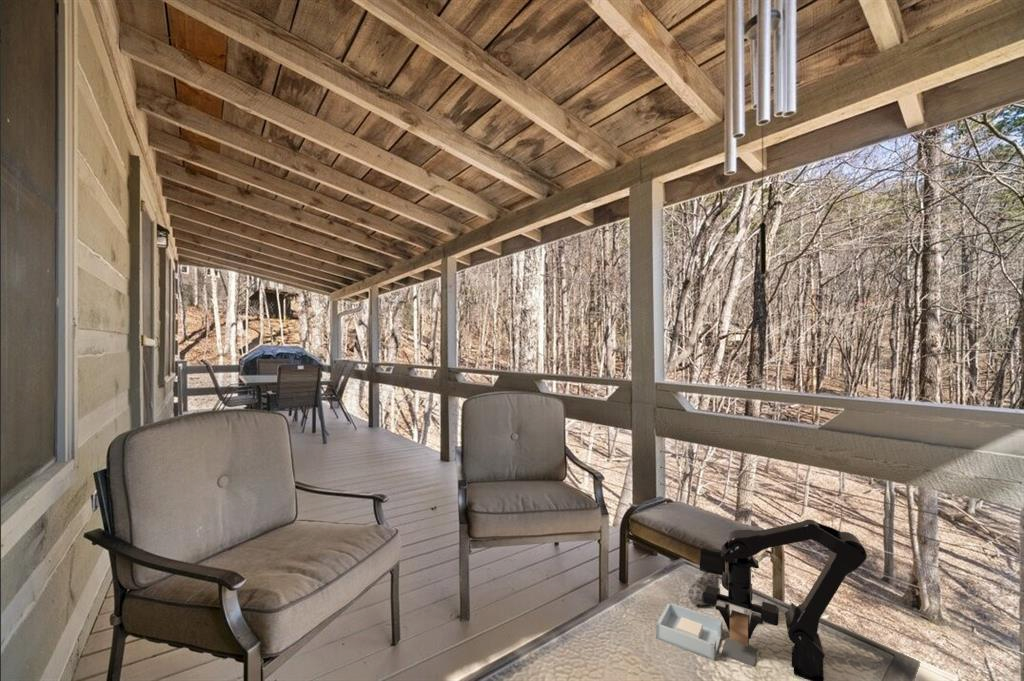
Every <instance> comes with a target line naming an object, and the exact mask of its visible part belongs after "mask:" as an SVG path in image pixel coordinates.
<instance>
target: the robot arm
mask: <svg viewBox="0 0 1024 681" xmlns="http://www.w3.org/2000/svg"><path fill="white" fill-rule="evenodd" d="M727 538H728V539H727V541H726V542H724V544H722V546H721V549H716V548H712V547H709V546H705V545H701V546H700V558H699V571H700V572H708V573H712V574H717V575H719V576H722V575H723V574H724V573H726V571H727V573H728V574H726V582H725V585H726V586H728V596H726V595H722V594H720V589H719V588H720V587H719V588H715V587H712V586H709V585H707V586H706V587H705V588H704V591H703V594H702V602H703V603H706V605H708V606H712V607H714V608H715V611H718V612H719V614H720V616H721V617H722V619H723V621H724V624H725V626H726V629H727V630H728V632H729V633H730V605H733V606H736V607H739V608H743V609H746V610H749V611H752V614H751V619H750V626H749V633H748V637H749V640H751V639H752V636H753V634H754V631H755V630H756V628H757V626H758V625H759V624H760V625H764V623H766V624H769V625H772V626H775V627H777V626H779V620H780V608H779V606H777V605H776V604H772V603H769V602H765V601H762V603H761V604H758V603H753V600H754V599H753V598H754V597H753V592H754V591H753V583H752V568H753V569H760V568H759V566H760V565H759V561H758V560H757V559H756V558H755V557H754V556H755V555H758V554H759V553H761V552H762V551H763V550H766V549H769V548H775V547H780V546H784V545H785V546H786V545H791V544H794V543H800V542H806V541H814V542H816V543H819V545H821V546H823V547H824V548H826V549H827V550H829V553H828V558H827V559H828V560H827V562H826V563H825V565H824V567H823V568H822V570H821V572H820V573H819V576H818V577H817V578H816V580H815V582H814V584H813V585H812V586H811V589H810V590H809V592H808V593H807V595H806V596H805V599H804V600H803V602H802V603H801V604H799V605H796V604H795V603H793V602H791V603H790V605H789V608H788V610H787V611H785V612H784V617H785V625H786V630H787V636H788V638H789V640H790V641H791V643H792V644H794V646H793V645H792V646H791V667H792V668H793V675H795V676H798V677H800V678H802V679H806V680H809V681H825V672H824V671H825V670H824V659H825V656H826V655H825V654H826V653H825V652H824V651H825V650H824V648H823V645H822V641H821V638H820V634H819V633H818V630H819V623H820V620H821V617H822V615H823V614H824V612H825V611H826V609H827V608H828V606H829V604H830V603H831V601H832V599H833V598H834V596H835V594H836V593H837V591H838V590H839V588H840V586H841V585H842V584H843V583H842V582H844V580H845V578H846V576H847V575H849V574H851V573H853V572H855V571H856V570H857V569H859V568H860V567H861V566H862V564H864V563H865V562H866V560H867V556H868V554H867V551H866V548H865V547H864V545H863V544H862V542H861V541H860V540H859V538H858V537H857V536H856V535H854V534H853V533H850V532H849V531H841V530H838V529H836V528H834V527H831V526H830V525H825V524H822V523H819V522H818V521H815V520H814V519H805V520H803V521H797V522H794V523H789V524H784V525H779V526H774V527H770V528H765V529H760V530H754V529H734V530H731V531H730V533H729V534H728V537H727ZM726 563H727V564H726ZM726 565H728V566H727V569H728V570H726ZM751 601H752V603H751Z"/></svg>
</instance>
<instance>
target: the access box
mask: <svg viewBox="0 0 1024 681" xmlns="http://www.w3.org/2000/svg"><path fill="white" fill-rule="evenodd" d="M655 626H656V627H655V632H656V633H655V634H656V635H655V636H656V637H655V638H656V639H657V640H660V641H662V642H665V643H667V644H670V645H673V646H675V647H678V648H680V649H683V650H685V651H687V652H691V653H692V654H696V655H698V656H701V657H703V658H706V659H709V660H711V661H715V660H716V656H717V654H718V651H719V647H720V643H721V639H722V636H723V620H722V619H720V618H717V617H714V616H711V615H708V614H705V613H703V612H699V611H697V610H694V609H691V608H687V607H684V606H682V605H679V604H675V603H673V602H668V603H667V605H666V606H665V608H664V610H663V612H662V614H661V616H660V617H659V619H658V621H657V623H656V624H655Z"/></svg>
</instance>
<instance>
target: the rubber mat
mask: <svg viewBox="0 0 1024 681" xmlns="http://www.w3.org/2000/svg"><path fill="white" fill-rule="evenodd" d="M757 653H758V647H754V646H752V645H750V644H748V646H746V645H744V644H741V643H738V642H735V641H732V640H730V637H727V636H726V637H725V639H724V643H723V646H722V649H721V653H720V655H722V656H724V657H727V658H730V659H732V660H735V661H737V662H740V663H744V665H745V664H746V665H748V666H751V667H754V668H755V665H756V664H755V663H756V658H757Z"/></svg>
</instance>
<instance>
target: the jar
mask: <svg viewBox="0 0 1024 681" xmlns="http://www.w3.org/2000/svg"><path fill="white" fill-rule="evenodd" d="M726 574H728V572H724V573H723V575H722V574H721V583H720V584H719V588H720V594H722V595H726V596H728V586H726V585H725V582H726ZM751 603H752V604H753V600H752V601H751ZM732 610H734V611H737V612H740V613H743V614H746V615H750V619H751V614H752V611H749V610H746V609H743V608H739V607H736V606H733V605H730V615H731V611H732Z"/></svg>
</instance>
